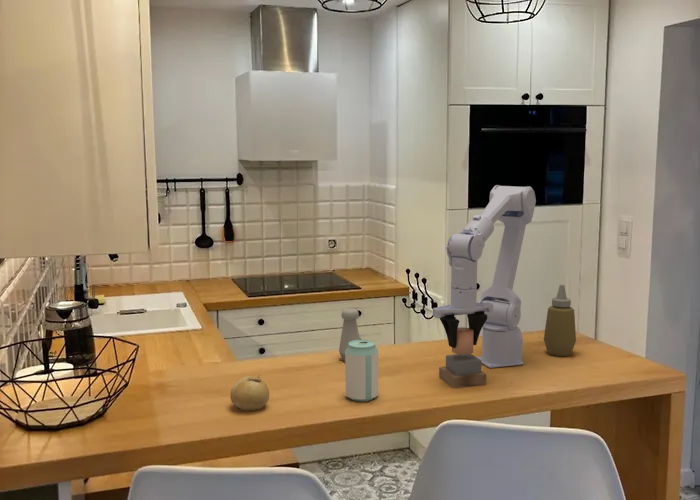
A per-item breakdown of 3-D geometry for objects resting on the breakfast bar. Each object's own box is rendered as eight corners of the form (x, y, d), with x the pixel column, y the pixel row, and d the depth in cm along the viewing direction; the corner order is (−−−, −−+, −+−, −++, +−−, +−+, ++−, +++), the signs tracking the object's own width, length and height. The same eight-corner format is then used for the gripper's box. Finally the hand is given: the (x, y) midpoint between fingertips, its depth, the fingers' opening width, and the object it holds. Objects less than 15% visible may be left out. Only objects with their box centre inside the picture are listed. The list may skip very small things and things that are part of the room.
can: (341, 393, 156) (340, 340, 154) (370, 389, 159) (370, 337, 157) (352, 404, 150) (352, 349, 148) (383, 400, 152) (383, 345, 150)
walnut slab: (470, 375, 169) (470, 363, 168) (485, 386, 161) (486, 374, 161) (439, 379, 167) (439, 366, 166) (453, 390, 159) (453, 377, 159)
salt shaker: (362, 356, 183) (362, 306, 181) (361, 363, 177) (360, 312, 175) (340, 355, 183) (339, 306, 181) (337, 362, 178) (337, 311, 176)
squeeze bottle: (579, 351, 186) (582, 284, 183) (570, 360, 179) (573, 289, 176) (548, 347, 190) (550, 280, 187) (539, 355, 183) (541, 286, 180)
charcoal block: (469, 365, 167) (469, 352, 167) (481, 373, 162) (481, 360, 161) (445, 367, 165) (445, 355, 165) (457, 375, 160) (457, 363, 159)
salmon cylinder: (465, 347, 166) (465, 326, 165) (477, 352, 162) (477, 331, 161) (447, 349, 164) (448, 328, 163) (459, 355, 160) (459, 333, 159)
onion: (233, 416, 144) (232, 382, 143) (228, 402, 151) (227, 370, 150) (272, 412, 146) (272, 378, 145) (266, 398, 154) (265, 367, 152)
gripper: (482, 281, 167) (480, 337, 169) (426, 286, 162) (426, 344, 164) (498, 286, 160) (497, 345, 163) (442, 292, 155) (441, 352, 157)
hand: (462, 345), depth 163 cm, fingers closed on salmon cylinder, 5 cm apart
